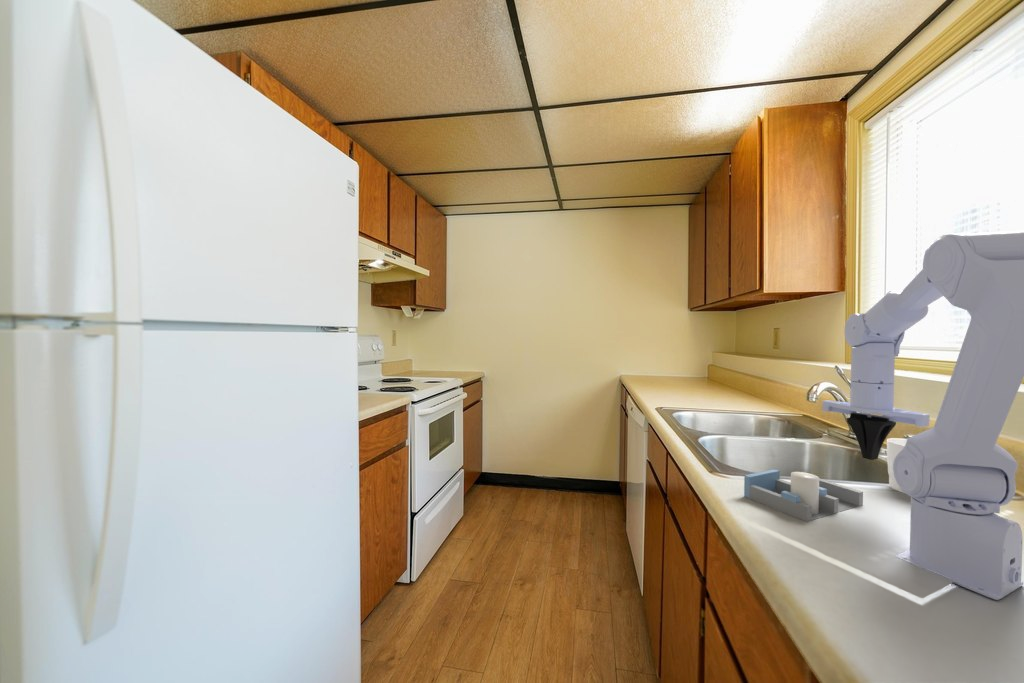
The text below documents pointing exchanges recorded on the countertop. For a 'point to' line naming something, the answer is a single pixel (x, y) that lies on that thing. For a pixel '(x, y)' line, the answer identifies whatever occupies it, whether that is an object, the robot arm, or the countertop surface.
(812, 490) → the white rounded cylinder
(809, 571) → the countertop surface
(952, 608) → the countertop surface
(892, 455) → the white cup
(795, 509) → the grey and blue rack
